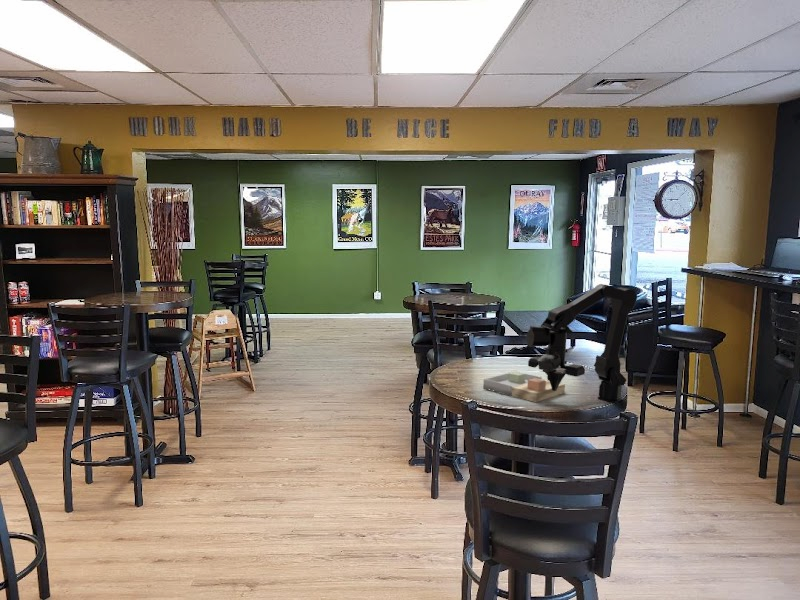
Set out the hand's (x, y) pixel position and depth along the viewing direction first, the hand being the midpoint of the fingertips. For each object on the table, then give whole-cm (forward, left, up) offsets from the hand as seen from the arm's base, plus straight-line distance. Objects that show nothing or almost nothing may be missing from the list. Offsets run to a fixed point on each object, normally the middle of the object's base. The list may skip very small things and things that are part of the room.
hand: (554, 390), depth 193 cm
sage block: (+21, -8, +1) cm, 22 cm away
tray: (+20, -4, -4) cm, 20 cm away
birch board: (+8, -4, -4) cm, 10 cm away
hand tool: (+19, -32, -4) cm, 38 cm away
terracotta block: (+7, 0, -1) cm, 7 cm away
